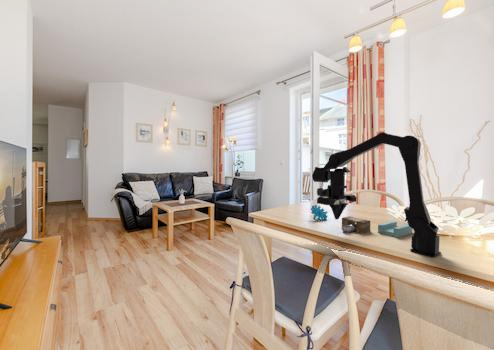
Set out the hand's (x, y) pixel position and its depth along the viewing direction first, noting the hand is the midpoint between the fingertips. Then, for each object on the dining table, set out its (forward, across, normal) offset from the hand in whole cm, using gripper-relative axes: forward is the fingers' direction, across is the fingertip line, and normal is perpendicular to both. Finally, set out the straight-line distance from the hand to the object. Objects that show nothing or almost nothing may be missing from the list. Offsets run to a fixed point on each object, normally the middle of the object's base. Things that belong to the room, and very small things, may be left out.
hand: (336, 219), depth 96 cm
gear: (+7, -14, -21) cm, 26 cm away
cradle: (+6, -24, +12) cm, 27 cm away
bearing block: (+6, -14, 0) cm, 15 cm away
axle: (+6, -11, 0) cm, 13 cm away
